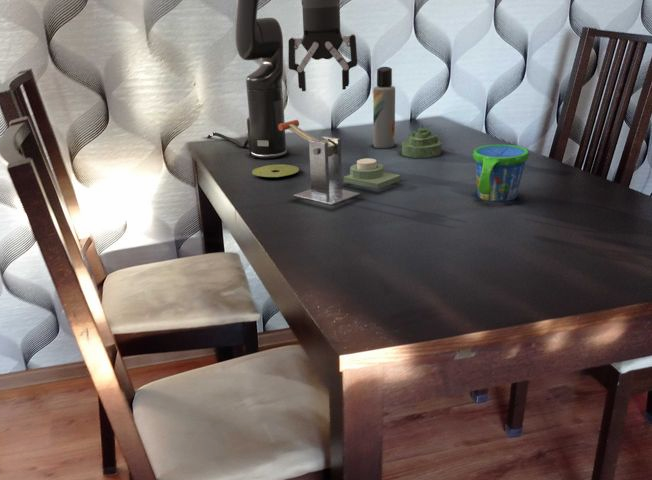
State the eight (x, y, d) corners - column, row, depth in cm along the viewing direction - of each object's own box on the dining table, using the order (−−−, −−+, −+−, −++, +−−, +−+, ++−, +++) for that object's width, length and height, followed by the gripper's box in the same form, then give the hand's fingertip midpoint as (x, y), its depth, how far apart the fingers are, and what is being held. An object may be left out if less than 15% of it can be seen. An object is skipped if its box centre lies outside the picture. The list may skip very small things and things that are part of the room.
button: (352, 169, 157) (352, 161, 156) (365, 165, 160) (365, 157, 159) (368, 172, 154) (368, 164, 154) (380, 167, 157) (380, 160, 156)
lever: (277, 131, 149) (279, 120, 147) (293, 126, 152) (295, 116, 150) (320, 159, 143) (323, 148, 142) (336, 154, 146) (339, 143, 145)
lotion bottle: (394, 143, 192) (395, 65, 182) (394, 148, 187) (395, 68, 177) (373, 143, 193) (373, 66, 183) (373, 148, 188) (373, 69, 178)
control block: (343, 186, 159) (342, 168, 157) (365, 178, 164) (365, 160, 162) (378, 193, 152) (378, 175, 150) (400, 184, 157) (400, 167, 155)
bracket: (294, 201, 151) (290, 140, 144) (322, 191, 156) (320, 132, 150) (332, 210, 144) (330, 147, 138) (360, 199, 149) (359, 138, 143)
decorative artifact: (426, 146, 187) (394, 152, 184) (427, 119, 184) (394, 124, 180) (448, 154, 179) (415, 160, 175) (450, 125, 175) (416, 131, 172)
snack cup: (502, 215, 136) (507, 162, 131) (454, 206, 142) (457, 155, 137) (537, 194, 146) (543, 145, 141) (490, 187, 152) (494, 139, 147)
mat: (244, 177, 169) (243, 169, 168) (285, 169, 174) (284, 161, 173) (265, 187, 161) (265, 179, 160) (308, 178, 165) (307, 170, 164)
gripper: (356, 1, 143) (357, 85, 151) (287, 5, 144) (292, 88, 152) (356, 3, 136) (357, 91, 144) (283, 7, 138) (288, 94, 145)
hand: (323, 89), depth 148 cm, fingers open, 8 cm apart
